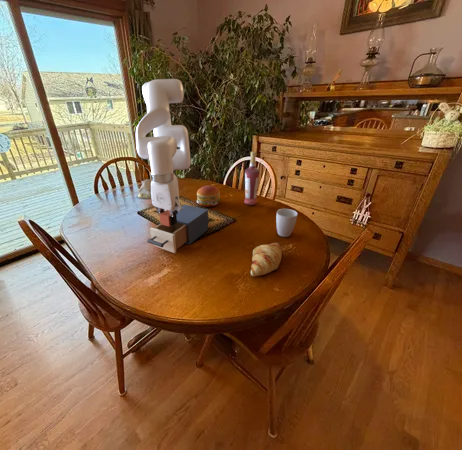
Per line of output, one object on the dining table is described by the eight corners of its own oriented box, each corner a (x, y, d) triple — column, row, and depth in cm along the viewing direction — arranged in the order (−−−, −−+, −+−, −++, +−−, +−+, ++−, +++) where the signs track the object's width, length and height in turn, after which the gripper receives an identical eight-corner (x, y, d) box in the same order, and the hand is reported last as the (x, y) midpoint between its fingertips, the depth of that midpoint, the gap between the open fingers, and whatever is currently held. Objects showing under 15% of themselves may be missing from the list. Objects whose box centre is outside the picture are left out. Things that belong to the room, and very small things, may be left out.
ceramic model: (149, 199, 142) (147, 183, 137) (134, 197, 146) (131, 181, 141) (162, 191, 153) (160, 176, 148) (148, 189, 157) (146, 175, 152)
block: (160, 224, 91) (159, 214, 89) (168, 219, 95) (166, 209, 92) (169, 226, 89) (168, 216, 87) (176, 222, 92) (175, 211, 90)
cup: (294, 230, 103) (297, 209, 98) (293, 240, 96) (297, 218, 92) (274, 228, 106) (277, 207, 101) (273, 237, 99) (275, 215, 94)
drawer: (167, 259, 87) (164, 241, 83) (145, 250, 92) (141, 233, 89) (194, 237, 100) (193, 220, 96) (173, 230, 105) (171, 215, 102)
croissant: (259, 290, 77) (272, 278, 71) (236, 269, 79) (246, 256, 74) (283, 257, 91) (295, 244, 86) (262, 240, 94) (273, 227, 88)
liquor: (258, 206, 127) (262, 153, 113) (244, 207, 127) (246, 153, 114) (255, 201, 133) (259, 150, 120) (242, 201, 133) (244, 150, 120)
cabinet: (190, 244, 97) (188, 223, 92) (166, 236, 103) (163, 216, 98) (208, 228, 107) (208, 209, 103) (186, 222, 114) (184, 204, 109)
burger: (202, 210, 125) (201, 192, 121) (193, 201, 136) (191, 185, 132) (224, 205, 130) (224, 188, 125) (213, 197, 141) (213, 181, 136)
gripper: (138, 176, 85) (146, 222, 93) (175, 183, 76) (180, 232, 85) (152, 171, 90) (159, 214, 99) (188, 177, 82) (192, 223, 90)
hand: (168, 222), depth 92 cm, fingers closed on block, 4 cm apart
